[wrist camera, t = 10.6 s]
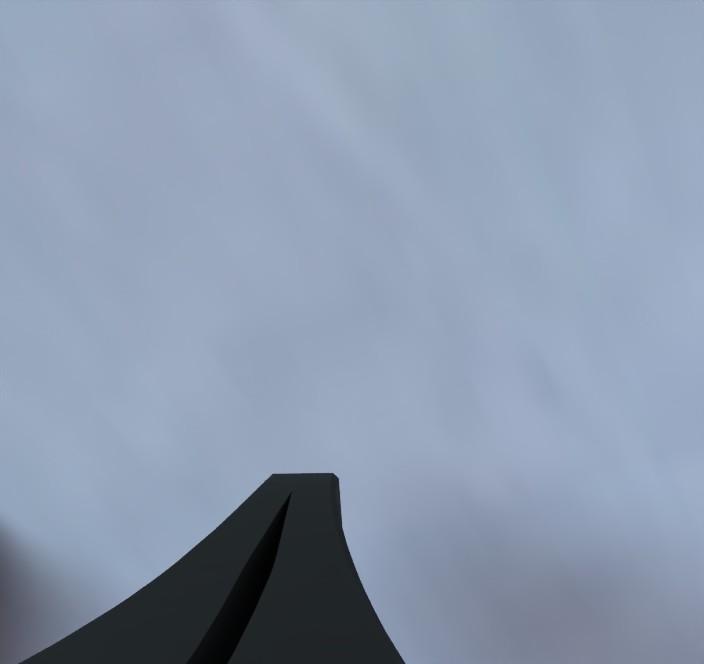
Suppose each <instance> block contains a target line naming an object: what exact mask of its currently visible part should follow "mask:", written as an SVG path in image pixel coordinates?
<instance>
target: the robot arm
mask: <svg viewBox="0 0 704 664" xmlns="http://www.w3.org/2000/svg"><path fill="white" fill-rule="evenodd" d="M19 664H405V662H404V661H403V659H402V657H401V656H400V654H399V653H398V651H397V649H396V648H395V646H394V644H393V643H392V641H391V640H390V638H389V636H388V635H387V633H386V631H385V629H384V628H383V626H382V624H381V622H380V620H379V618H378V616H377V614H376V612H375V611H374V609H373V607H372V605H371V602H370V600H369V598H368V596H367V594H366V592H365V590H364V588H363V585H362V583H361V581H360V578H359V576H358V573H357V571H356V568H355V566H354V563H353V560H352V558H351V555H350V552H349V549H348V546H347V543H346V540H345V536H344V532H343V529H342V517H341V503H340V490H339V478H338V477H337V476H336V475H334V474H333V473H301V474H272V475H271V476H270V477H269V478H268V479H267V480H266V481H265V482H264V483H263V484H262V485H261V486H260V487H259V488H258V489H257V490H256V491H255V492H254V493H253V494H252V495H251V496H250V497H249V498H248V499H247V500H245V501H244V502H243V503H242V504H241V505H240V506H239V507H238V508H237V509H236V510H235V511H234V512H233V513H232V514H231V515H230V516H229V517H228V518H227V519H226V520H225V521H224V522H222V523H221V524H220V525H219V526H218V527H217V528H216V529H215V530H214V531H213V532H212V533H210V534H209V535H208V536H207V537H206V538H205V539H203V540H202V541H201V542H200V543H199V544H197V545H196V546H195V547H194V548H193V549H192V550H190V551H189V552H188V553H187V554H186V555H185V556H183V557H182V558H181V559H180V560H179V561H177V562H176V563H175V564H174V565H173V566H171V567H170V568H169V569H167V570H166V571H165V572H164V573H162V574H161V575H160V576H158V577H157V578H156V579H154V580H153V581H152V582H150V583H149V584H147V585H146V586H145V587H143V588H142V589H140V590H139V591H137V592H136V593H135V594H133V595H132V596H130V597H129V598H128V599H126V600H125V601H123V602H122V603H120V604H119V605H117V606H116V607H114V608H113V609H111V610H109V611H108V612H106V613H104V614H103V615H101V616H100V617H98V618H96V619H95V620H93V621H91V622H90V623H88V624H86V625H85V626H83V627H82V628H80V629H78V630H77V631H75V632H73V633H72V634H70V635H69V636H67V637H65V638H64V639H62V640H60V641H59V642H57V643H55V644H53V645H52V646H50V647H48V648H46V649H44V650H43V651H41V652H39V653H37V654H35V655H33V656H32V657H30V658H28V659H26V660H24V661H22V662H21V663H19Z"/></svg>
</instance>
